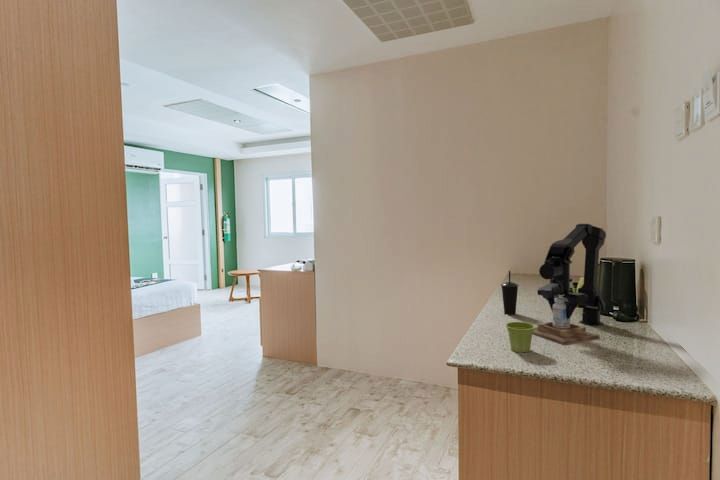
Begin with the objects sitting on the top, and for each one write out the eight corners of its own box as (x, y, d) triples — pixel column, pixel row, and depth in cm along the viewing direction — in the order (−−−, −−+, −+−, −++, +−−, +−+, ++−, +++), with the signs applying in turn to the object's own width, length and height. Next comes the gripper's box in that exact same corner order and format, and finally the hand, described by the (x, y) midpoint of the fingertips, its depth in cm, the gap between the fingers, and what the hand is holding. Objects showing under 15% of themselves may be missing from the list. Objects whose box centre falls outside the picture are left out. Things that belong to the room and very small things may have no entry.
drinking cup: (500, 315, 190) (500, 272, 189) (501, 311, 197) (501, 269, 196) (518, 316, 187) (518, 272, 186) (518, 312, 194) (518, 270, 193)
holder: (560, 325, 171) (560, 317, 170) (599, 337, 154) (599, 328, 154) (525, 331, 164) (525, 322, 164) (562, 344, 147) (562, 335, 147)
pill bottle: (568, 325, 161) (568, 296, 160) (571, 329, 155) (571, 299, 154) (551, 324, 163) (551, 296, 162) (554, 328, 157) (554, 299, 156)
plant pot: (532, 356, 137) (532, 330, 136) (503, 352, 142) (502, 327, 141) (537, 348, 145) (537, 323, 144) (509, 344, 150) (509, 320, 149)
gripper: (526, 274, 163) (526, 313, 164) (565, 281, 146) (565, 325, 147) (548, 272, 167) (548, 310, 168) (588, 278, 150) (588, 321, 151)
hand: (561, 316), depth 159 cm, fingers closed on pill bottle, 6 cm apart
